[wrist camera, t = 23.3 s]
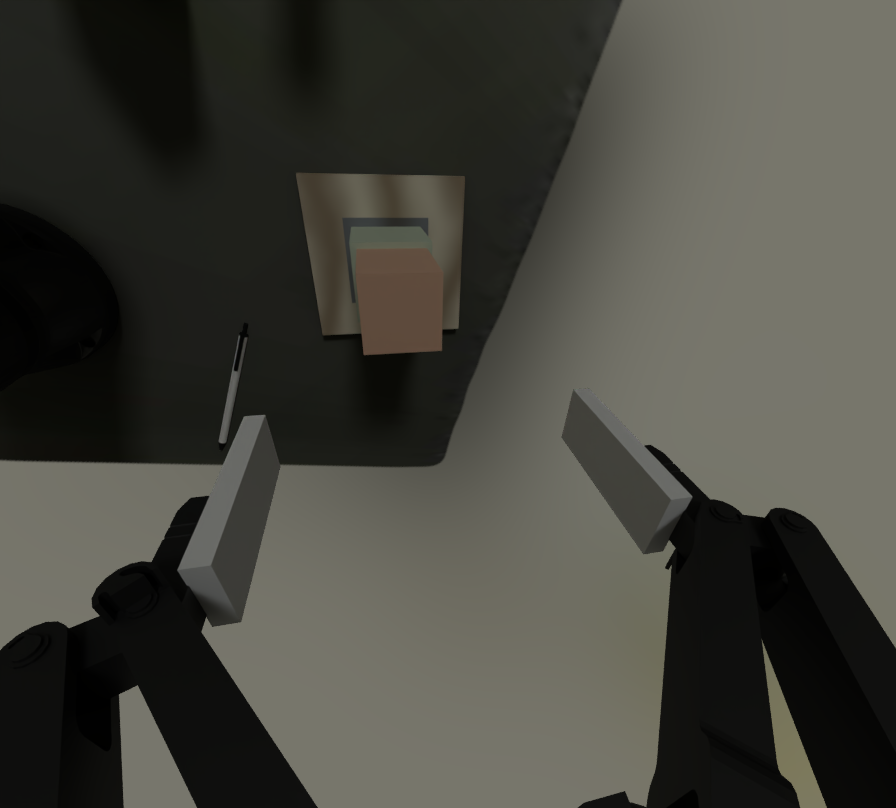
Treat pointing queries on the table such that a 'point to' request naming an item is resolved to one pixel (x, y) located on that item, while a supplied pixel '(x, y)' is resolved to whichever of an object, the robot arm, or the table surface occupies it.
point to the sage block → (384, 243)
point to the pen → (233, 386)
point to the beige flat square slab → (377, 205)
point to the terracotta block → (399, 300)
